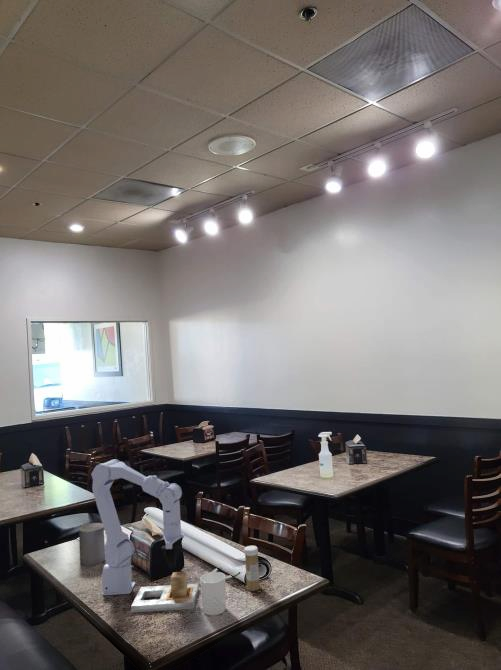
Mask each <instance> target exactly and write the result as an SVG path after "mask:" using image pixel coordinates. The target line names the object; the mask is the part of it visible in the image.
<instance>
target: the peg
mask: <svg viewBox="0 0 501 670" xmlns="http://www.w3.org/2000/svg"><path fill="white" fill-rule="evenodd" d="M187 584H188V579H187V571H175V572H172V574H171V576H170V585H171V595H172V598H180V597H189V595H188V594H187Z"/></svg>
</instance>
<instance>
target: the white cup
mask: <svg viewBox="0 0 501 670" xmlns="http://www.w3.org/2000/svg"><path fill="white" fill-rule="evenodd" d="M225 576H226V574H225V573H223V572H220V571H216V572H212V571H210V572H209V571H208V572H205V573H204V574H202V575H201V576H200V577H199V580H200V581H199V582H200V583H201V586H200V593H201V601H202V607H203V612H204V614H205V615H208V616H219V615H221V614H223V613H225V611H226V600H227V599H226V598H227V596H226V591H227V590H226V585H227V584H226V580H225Z"/></svg>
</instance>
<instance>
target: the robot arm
mask: <svg viewBox="0 0 501 670" xmlns="http://www.w3.org/2000/svg"><path fill="white" fill-rule="evenodd" d="M90 474H91V478H92V485H91V486H92V487H91V489H92V493H93V497H94V500H95V503H96V507H97V511H98V514H99V516H100V521H101V523H102V524H103V527H104V534H105V536H106V541H105V546H104V549H105V560H104V561H105V564H104V565H103V568H102V575H101V579H102V594H101V595H102V596H111V595H113V596H114V595H115V596H116V595H129V594H131V593H132V591H133V589H134V588H135V585H136V582H135V581H133V577H132V576H133V575H132V556H133V554H134V553H135V546H134V544H133V542H132V541H131V540H130V537H129V535H128V534H127V533H125V532H123V528H122V526H121V522H120V519H119V516H118V513H117V509H116V507H115V503H114V500H113V497H112V494H111V490H110V489H111V487H112V485H113V483H114V482H115V480H118V479H119V480H120V479H124V480H126V481H128V482H130V483H133V484H135V485H138V486H141V488H142V491H143V492H145V493H146V494H149V495H150V496H152V497H154V498H157V499H159V501H160V504H161V505H162V516H163V517H162V518H163V519H162V521H163V540H164V542H165V545H162V546H161V551H162V553H163V555H164V557H165V560H166V564H167V566H168V567H167V568H168V569H175V568H176V565H177V559H180V553H181V546H182V541H183V539H184V537H185V536H186V535H185V533H183V532H182V528H181V525H182V524H181V504H180V499H181V497H182V495H183V490H182V487H181V486H180V485H178V483H175V482H173V483H170V482H168V481H164V480H162V479H160V478H158V476H157V475H148V476H145V475H144V474H142V473H140V472H139V471H137V470H135V469H133V468H132V467H130V466H128V465H126V464H125V462H123V461H120V460H119V459H110V460H108V461H106V462H104V463H101V464H97V465H96V466H95V467H94V468H93V470H92V472H91V473H90Z"/></svg>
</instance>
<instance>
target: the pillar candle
mask: <svg viewBox="0 0 501 670" xmlns="http://www.w3.org/2000/svg"><path fill="white" fill-rule="evenodd" d="M78 533H79V534H78V535H79V536H78V538H79V539H78V540H79V542H78V543H79V564H80V565H81V566H83V567H93V566H96V565H99V564H101V563H103V562H104V561H105V549H104V546H105V543H106V541H105V530H104V527H103V523H102V522H93V523H92V522H91V523H87V524H84V525H81V526H80V527H79V528H78ZM92 565H93V566H92Z"/></svg>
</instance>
